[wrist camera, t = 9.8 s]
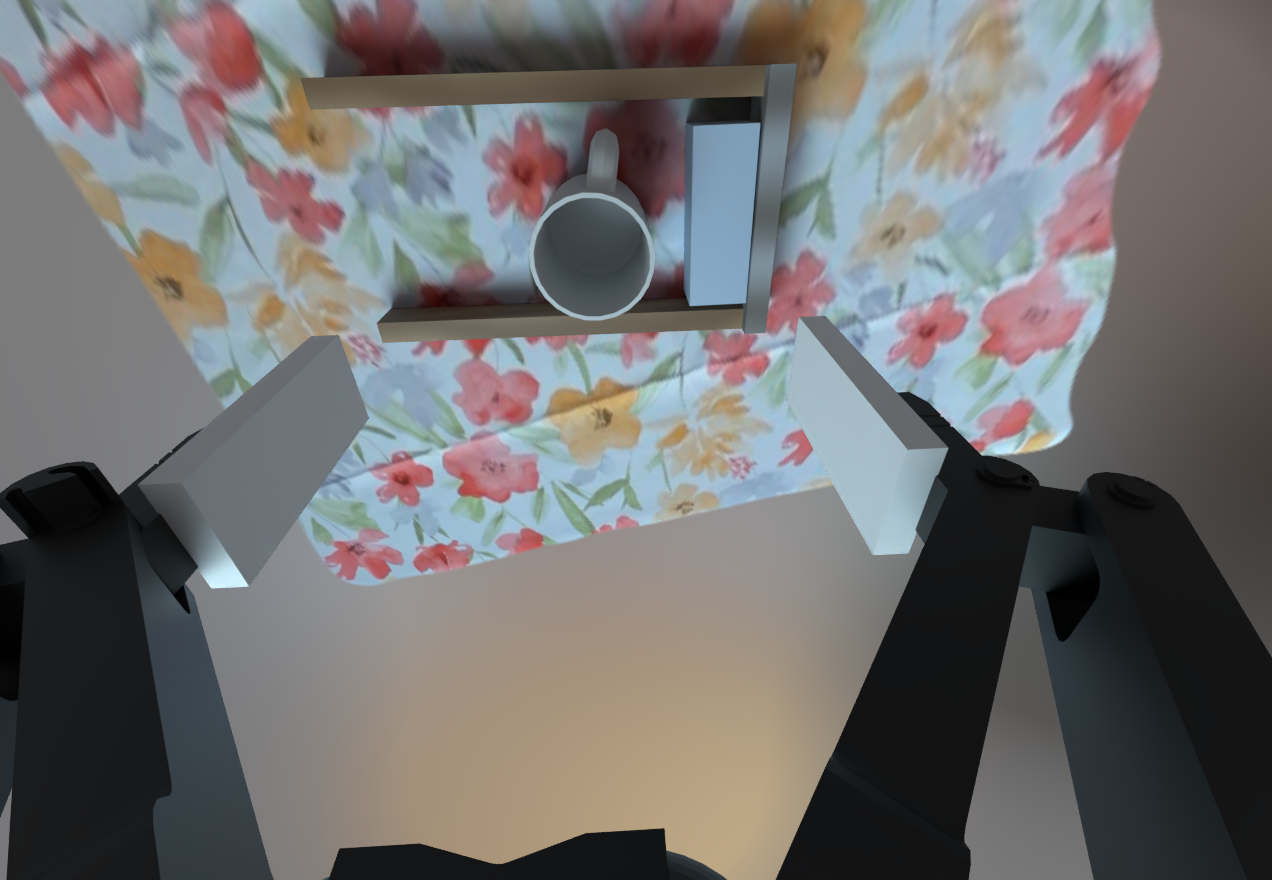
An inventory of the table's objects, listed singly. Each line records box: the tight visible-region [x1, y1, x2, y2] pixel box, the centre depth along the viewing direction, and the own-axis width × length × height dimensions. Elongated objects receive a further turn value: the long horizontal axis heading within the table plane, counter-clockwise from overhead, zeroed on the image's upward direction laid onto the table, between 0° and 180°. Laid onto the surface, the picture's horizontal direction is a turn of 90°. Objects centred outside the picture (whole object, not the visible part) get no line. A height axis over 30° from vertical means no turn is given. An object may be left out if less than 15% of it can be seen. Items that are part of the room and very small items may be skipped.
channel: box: [300, 64, 797, 343], centre depth 35 cm, size 16×28×4 cm, turn 91°
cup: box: [529, 128, 655, 320], centre depth 33 cm, size 7×10×9 cm
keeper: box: [684, 120, 760, 306], centre depth 36 cm, size 11×4×4 cm
